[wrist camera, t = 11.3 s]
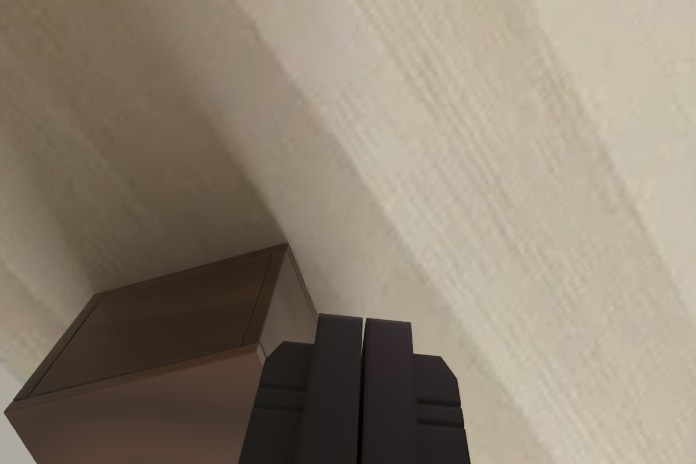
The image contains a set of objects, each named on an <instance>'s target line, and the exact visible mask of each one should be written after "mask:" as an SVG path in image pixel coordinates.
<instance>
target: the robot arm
mask: <svg viewBox="0 0 696 464" xmlns="http://www.w3.org/2000/svg"><path fill="white" fill-rule="evenodd" d="M362 327H363V318H361V317H351V316H341V315H331V314H321V313H319V317H318V323H317V329H316V336H315V342H314V344H310V343H300V342H290V341H283V342H282V343H281V344H280V345H279V346H278V347H277V348H276V349H275V350H274V351H273V352H272V353H271V354H270V355H269V356H268V357H267V358H266V359H265V362H264V366H263V370H262V374H261V377H260V381H259V387H258V389H257V393H256V396H255V400H254V406H253V408H252V412H251V415H250V419H249V423H248V427H247V431H246V435H245V438H244V442H243V446H242V450H241V454H240V457H239V461H238V464H471V463H470V457H469V450H468V444H467V438H466V432H465V429H464V419H463V413H462V408H461V400H460V394H459V388H458V382H457V378H456V377H455V375H454V374H453V373H452V371H451V370H450V369H449V367H448V366H447V364H446V363H445V362H444V360H443V359H442V358H441V356H431V355H421V354H413V344H412V330H411V323H410V322H402V321H392V320H382V319H373V318H366V323H365V331H364V339H363V347H362ZM361 348H362V356H361Z"/></svg>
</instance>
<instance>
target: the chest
mask: <svg viewBox="0 0 696 464" xmlns="http://www.w3.org/2000/svg"><path fill="white" fill-rule="evenodd" d="M317 323H318V315H317V313H316V310H315V308H314V305H313V303H312V300H311V298H310V295H309V293H308V290H307V288H306V285H305V283H304V280H303V278H302V275H301V273H300V270H299V268H298V265H297V263H296V260H295V258H294V255H293V253H292V250H291V248H290V245H289V243H286V244H282V245H278V246H275V247H271V248H267V249H263V250H260V251H256V252H252V253H249V254H245V255H241V256H237V257H234V258H230V259H226V260H223V261H219V262H215V263H211V264H208V265H204V266H200V267H197V268H193V269H189V270H185V271H182V272H178V273H174V274H171V275H167V276H163V277H159V278H156V279H152V280H148V281H145V282H141V283H137V284H133V285H130V286H126V287H122V288H119V289H115V290H111V291H107V292H104V293H100V294H96V295H94V296H93V297H92V298H91V299H90V301H89V303H87V304H86V306H85V307H84V308H83V310H82V311H81V312H80V314H79V315H78V316H77V317H76V319H75V320H74V321H73V323H72V324H71V325H70V327H69V328H68V329H67V330H66V332H65V333H64V334H63V336H62V337H61V338H60V339H59V341H58V342H57V343H56V345H55V346H54V347H53V349H52V350H51V351H50V352H49V354H48V355H47V356H46V358H45V359H44V360H43V361H42V363H41V364H40V365H39V367H38V368H37V369H36V371H35V372H34V373H33V374H32V376H31V377H30V378H29V380H28V381H27V382H26V384H25V385H24V386H23V388H22V389H21V390H20V391H19V393H18V394H17V395H16V397H15V398H14V399H13V402H14V401H19V400H23V399H27V398H31V397H35V396H39V395H43V394H48V393H52V392H56V391H60V390H64V389H68V388H72V387H76V386H81V385H85V384H89V383H93V382H97V381H101V380H105V379H109V378H114V377H118V376H122V375H126V374H130V373H134V372H138V371H143V370H147V369H151V368H155V367H159V366H163V365H167V364H171V363H176V362H180V361H184V360H188V359H192V358H196V357H200V356H204V355H209V354H213V353H217V352H221V351H225V350H229V349H233V348H237V347H242V346H246V345H250V344H254V343H259V344H260V346H261V349H262V351H263V353H264V355H265V358H267V357H268V356H269V355H270V354H271V353H272V352H273V351H274V350H275V349H276V348H277V347H278V346H279V345H280V344H281V343H282V342H283V341H290V342H300V343H310V344H314V342H315V336H316V329H317Z"/></svg>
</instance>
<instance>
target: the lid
mask: <svg viewBox="0 0 696 464" xmlns="http://www.w3.org/2000/svg"><path fill="white" fill-rule="evenodd" d="M265 359H266V358H265V355H264V353H263V351H262V349H261V346H260V344H259V343H254V344H250V345H246V346H242V347H237V348H233V349H229V350H225V351H221V352H217V353H213V354H209V355H204V356H200V357H196V358H192V359H188V360H184V361H180V362H176V363H171V364H167V365H163V366H159V367H155V368H151V369H147V370H143V371H138V372H134V373H130V374H126V375H122V376H118V377H114V378H109V379H105V380H101V381H97V382H93V383H89V384H85V385H81V386H76V387H72V388H68V389H64V390H60V391H56V392H52V393H48V394H43V395H39V396H35V397H31V398H27V399H23V400H19V401H14V402H12V403H11V404H10V405H9V406H8V407H7V408H6V410H5V411H4V414H5V416H6V417H7V419H8V420H9V422H10V423H11V425H12V426H13V428H14V429H15V431H16V432H17V434H18V435H19V437H20V439H21V440H22V442H23V443H24V445H25V446H26V448H27V449H28V451H29V452H30V454H31V455H32V457H33V459H34V460H35V461H36V463H37V464H238V461H239V457H240V454H241V450H242V446H243V442H244V438H245V435H246V431H247V427H248V423H249V419H250V415H251V412H252V408H253V406H254V400H255V396H256V393H257V389H258V387H259V381H260V377H261V374H262V370H263V366H264V362H265Z"/></svg>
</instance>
